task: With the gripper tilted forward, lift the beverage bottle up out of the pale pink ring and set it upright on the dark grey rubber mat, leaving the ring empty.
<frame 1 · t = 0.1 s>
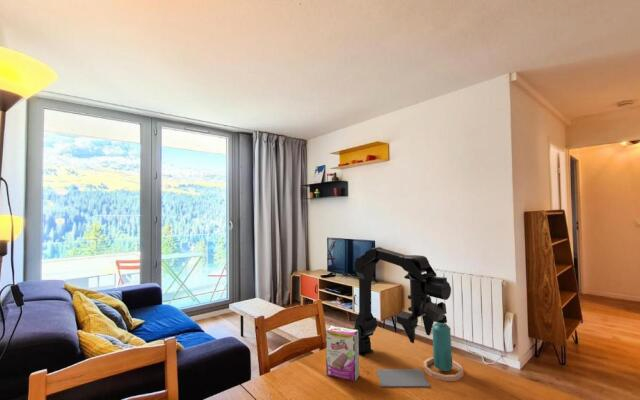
hand: (420, 338, 103), 15 cm above the table, tool pointing down, fingers open, 9 cm apart
beverage bottle: (442, 370, 109), resting in pale pink ring
pale pink ring: (442, 370, 109), on the table
rubber mat: (401, 378, 105), on the table
candy bar box: (342, 376, 108), on the table
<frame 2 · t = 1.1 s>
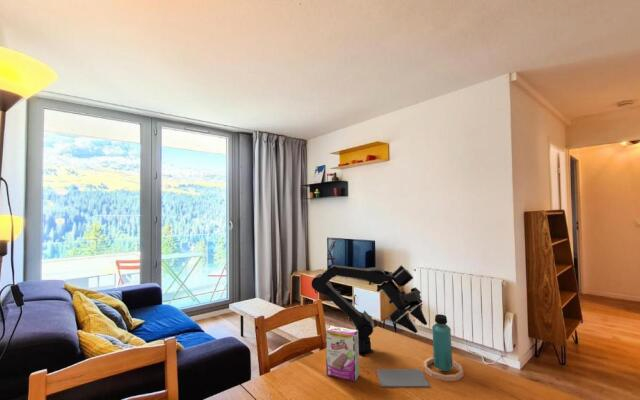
hand: (421, 328, 114), 13 cm above the table, tool tilted 45°, fingers open, 9 cm apart
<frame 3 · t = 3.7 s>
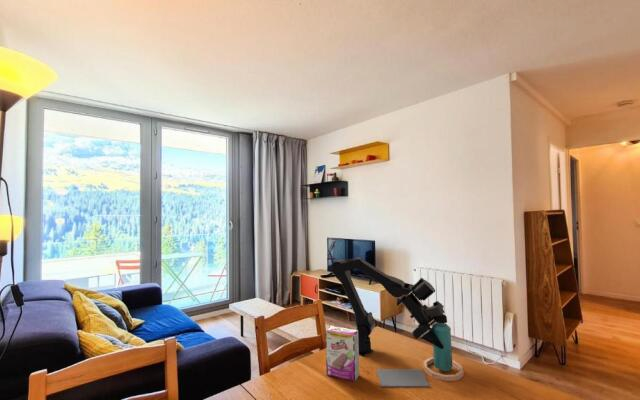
hand: (445, 345, 109), 10 cm above the table, tool tilted 45°, fingers closed on beverage bottle, 6 cm apart
beverage bottle: (442, 370, 109), resting in pale pink ring, touching gripper
everything else where it was.
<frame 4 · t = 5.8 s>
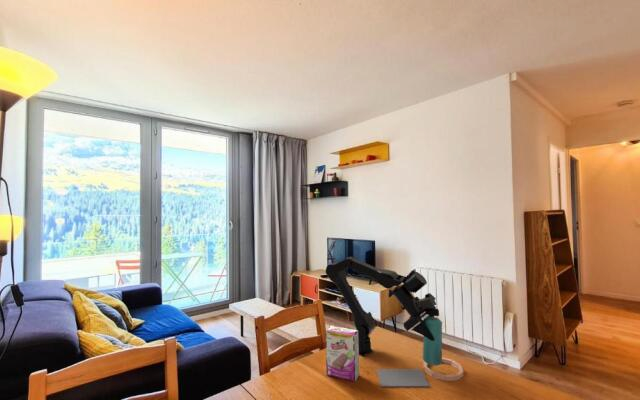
hand: (436, 337, 108), 13 cm above the table, tool tilted 45°, fingers closed on beverage bottle, 6 cm apart
beverage bottle: (431, 366, 108), point 3 cm above the table, touching gripper
everything else where it was.
when the fingers open (11 cm above the table, at t = 8.0 s): beverage bottle stays where it is, resting on rubber mat.
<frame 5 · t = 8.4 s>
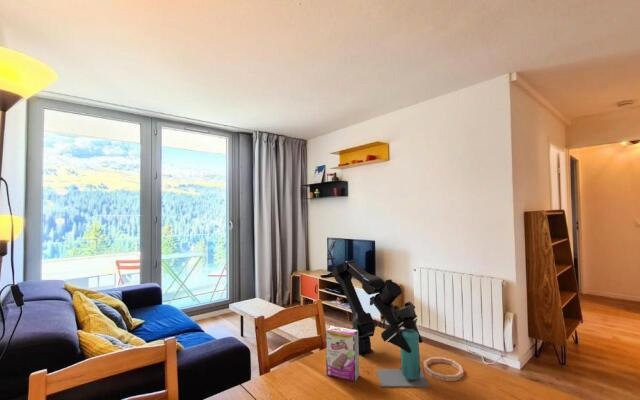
hand: (416, 347, 104), 11 cm above the table, tool tilted 45°, fingers open, 9 cm apart
beverage bottle: (410, 379, 104), resting on rubber mat, touching gripper
everything else where it was.
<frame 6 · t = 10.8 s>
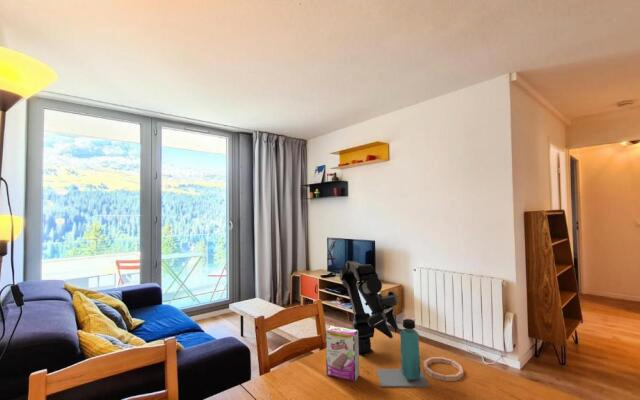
hand: (394, 333, 112), 13 cm above the table, tool tilted 35°, fingers open, 9 cm apart
beverage bottle: (410, 379, 104), resting on rubber mat
everything else where it was.
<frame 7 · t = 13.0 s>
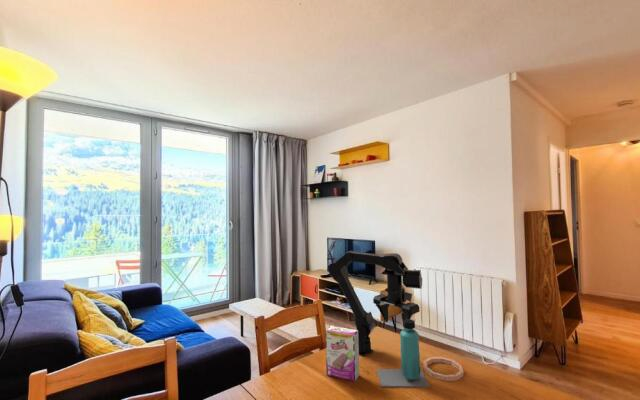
hand: (395, 325, 119), 13 cm above the table, tool pointing down, fingers open, 9 cm apart
nothing on the table moved.
at the end: beverage bottle touching rubber mat; beverage bottle tilted 0°; the gripper is holding nothing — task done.
